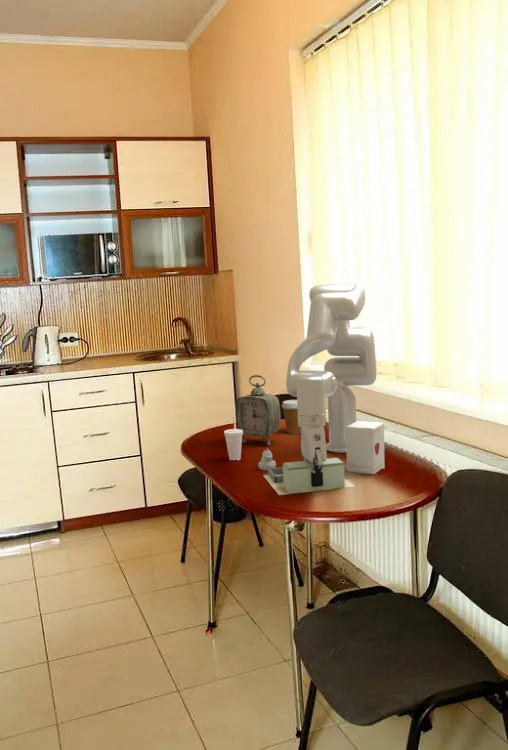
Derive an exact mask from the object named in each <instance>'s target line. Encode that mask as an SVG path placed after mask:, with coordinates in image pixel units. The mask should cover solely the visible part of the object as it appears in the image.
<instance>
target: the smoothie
mask: <svg viewBox="0 0 508 750" xmlns="http://www.w3.org/2000/svg"><path fill="white" fill-rule="evenodd" d="M236 426H237V421H236V417H234V418H233V428H231V429H227V430H226V429H225V430H224V431H223V432H224V433H223V435H224V437H225V442H226V447H227V453H228V458H229V459H228V460H229V461H231V460H233V462H235V461H234V460H237V461H240V460H241V459H242V457H241V455H242V443H243V442H242V440H243V435H244V434H243V430H241V429H238V428H237V427H236Z"/></svg>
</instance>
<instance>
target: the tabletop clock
mask: <svg viewBox="0 0 508 750" xmlns="http://www.w3.org/2000/svg"><path fill="white" fill-rule="evenodd" d="M253 378H260V379H262V380H263V383H262V384H259V382H255V384H254V383H252V381H251V380H252V379H253ZM248 382H249V384H250V386H253V387H254V388H252V389H251V391H250V394H247V395H244V396H241V397H238V398H237V400H236V402H235V422H236V426H237V427H236V428H237V429H241V430H243V434H242V435H244V436H245V437H244V438H242V443H243V444H245V443H247V439H248V437H249V436H250V437H257V438H259V437H261V441H262V442H263V441H264V442H266V439H267V442H266V446H268V447H269V446H271V445H272V441H270V435H271V434H274V433H276V432H278V431H280V427H281V405H280V400H279V398H278V397H277V396H276V395H274V394H270V393H265V390H264V389H263V388H262V387H265V385H266V382H267V381H266V378H265V377H263V376H262V375H259V374H254V375H251V376H250V377H249V379H248Z"/></svg>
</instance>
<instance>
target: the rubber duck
mask: <svg viewBox="0 0 508 750" xmlns="http://www.w3.org/2000/svg"><path fill="white" fill-rule="evenodd" d="M261 455H262V456H261V458H260V461H259V462H258V469H259V470H261V471H268V469H272V468H277V463H276V460H274V459H273V453H272V452H271V450H270V449H269V448H268V447H266V450H265V449H264V450H263V451H262V453H261Z"/></svg>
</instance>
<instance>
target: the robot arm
mask: <svg viewBox="0 0 508 750" xmlns="http://www.w3.org/2000/svg"><path fill="white" fill-rule="evenodd" d="M309 300H310V305H309V314H308V322H307V330H306V338H305V339H303V341H302V342H301V343H300V344H299V345H298V346H297V347H296V348H295V349H294V351H293V352H292V354H291V355H290V357H289V361H288V363H287V372H286V381H285V387H286V390H287V393H288V394H289V395H290V396H291V397H296V400H297V407H298V426H299V427H301V434H300V450H301V451H300V452H301V455H302V456H303V458H304V459H303V461H307V460H308V461H309V462H311V467H312V473H311V486H312V487H318V486H323V461H324V462H325V461H326V460H327V458H328V454H327V453H328V452H327V451H329V452H332V453H342V454H343V453H347V449H346V427H347V426H349V425H351V424H352V423H355V422H357V398H356V395H355V393H354V392H353V391H352V389H351V388H350V387H349V386H370V385H373V384H374V383H375V382H376V380H377V379H376V378H377V360H376V359H377V358H376V357H377V356H376V346H375V345H376V344H375V337H374V333H373V331H372V330H371V329H370V328H368V327H364V326H357V327H352V326H351V322H350V321H355V320H356V319H358V318H359V316H360V315H361V312H362V310H363V309H364V306H365V303H366V291H365V289H364V286H363V285H362V284H360V283H336V284H335V283H333V284H331V283H330V284H317V285H314V286H312V287H311V288H310V290H309ZM324 351H327V353H328V354H329V356H334V357H333V358H331V357H330V358H329V359H328V360H327V361H325V363H324V366H323V367H324V368H323V370H300V368H301V366H302V365H303V363H304V362H305V361H306V360H308V359H309V358H311V357H314V356H316V355H317V354H319V353H322V352H324ZM335 356H336V357H335ZM325 398H327V410H328V411H327V412H328V413H327V414H328V415H327V417H328V441H329V442H326V433H325V426H326V410H325V409H326V406H325V404H326V403H325V402H326V401H325ZM316 459H317V461H313V460H316ZM314 464H317V465H315V467H314Z"/></svg>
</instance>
